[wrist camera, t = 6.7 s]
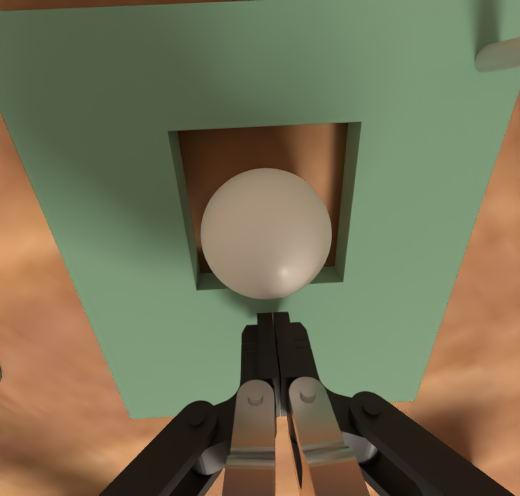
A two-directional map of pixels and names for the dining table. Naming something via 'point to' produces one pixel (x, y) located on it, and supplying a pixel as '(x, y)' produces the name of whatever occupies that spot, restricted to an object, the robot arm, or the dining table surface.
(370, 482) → the robot arm
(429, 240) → the putting deck
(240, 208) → the ball
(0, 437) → the dining table surface
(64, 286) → the dining table surface
